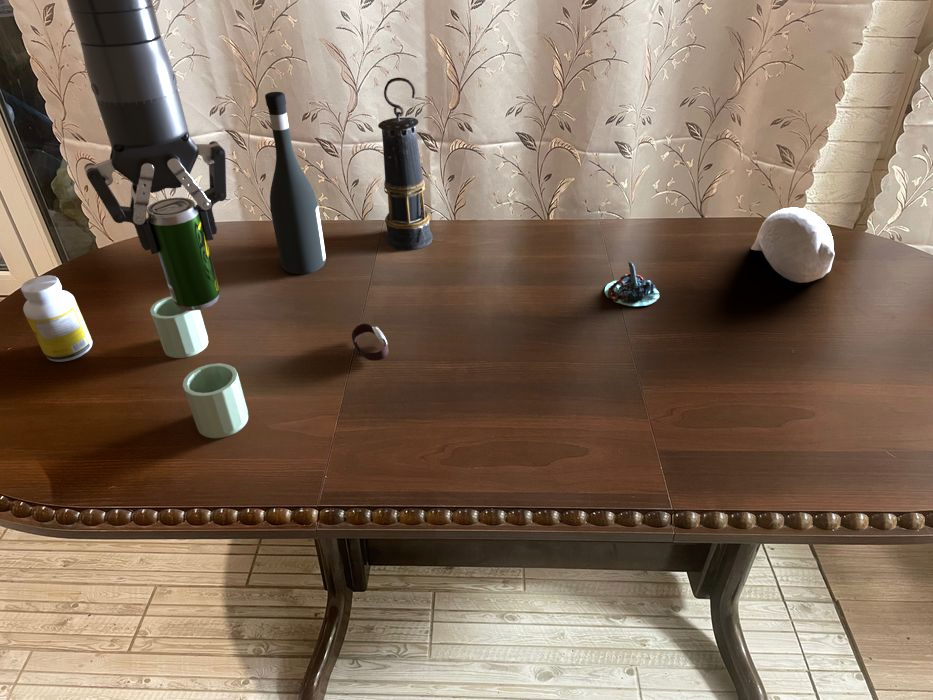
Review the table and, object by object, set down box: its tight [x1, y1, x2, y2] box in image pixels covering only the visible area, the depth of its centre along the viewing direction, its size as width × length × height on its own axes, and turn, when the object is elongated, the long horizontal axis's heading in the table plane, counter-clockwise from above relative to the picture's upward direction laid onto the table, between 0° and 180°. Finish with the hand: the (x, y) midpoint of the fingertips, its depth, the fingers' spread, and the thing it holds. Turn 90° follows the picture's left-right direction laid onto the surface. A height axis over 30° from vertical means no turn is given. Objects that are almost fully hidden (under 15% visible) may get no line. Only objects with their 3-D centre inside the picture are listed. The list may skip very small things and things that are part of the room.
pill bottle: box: [20, 275, 93, 363], centre depth 94 cm, size 6×6×12 cm
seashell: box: [750, 207, 835, 284], centre depth 115 cm, size 15×14×15 cm
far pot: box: [149, 295, 209, 359], centre depth 96 cm, size 6×6×7 cm
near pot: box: [182, 362, 249, 439], centre depth 83 cm, size 6×6×7 cm
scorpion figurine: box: [604, 261, 660, 307], centre depth 109 cm, size 8×7×8 cm
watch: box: [351, 323, 390, 362], centre depth 96 cm, size 8×5×4 cm, turn 33°
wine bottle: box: [264, 91, 327, 275], centre depth 109 cm, size 8×8×30 cm
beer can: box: [146, 197, 221, 311], centre depth 75 cm, size 5×5×12 cm
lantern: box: [377, 77, 434, 251], centre depth 118 cm, size 9×9×30 cm
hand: (181, 243), depth 74 cm, fingers closed on beer can, 5 cm apart
